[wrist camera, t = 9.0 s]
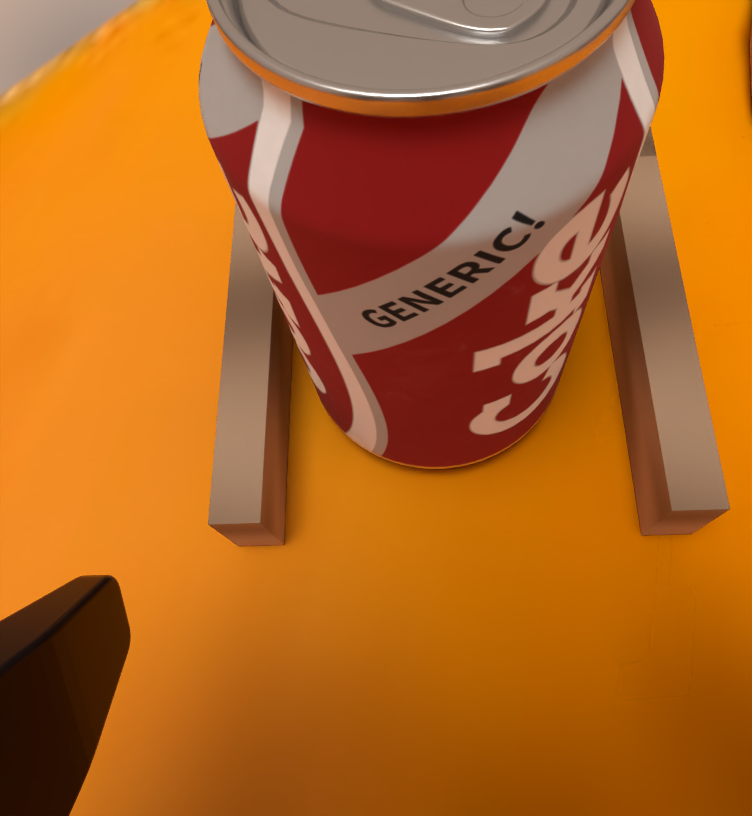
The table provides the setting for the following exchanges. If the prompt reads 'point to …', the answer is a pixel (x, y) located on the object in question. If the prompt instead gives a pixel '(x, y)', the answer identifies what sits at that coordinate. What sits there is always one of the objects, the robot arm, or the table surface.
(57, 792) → the robot arm
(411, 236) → the soda can
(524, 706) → the table surface
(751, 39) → the pastry
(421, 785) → the table surface
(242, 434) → the frame
